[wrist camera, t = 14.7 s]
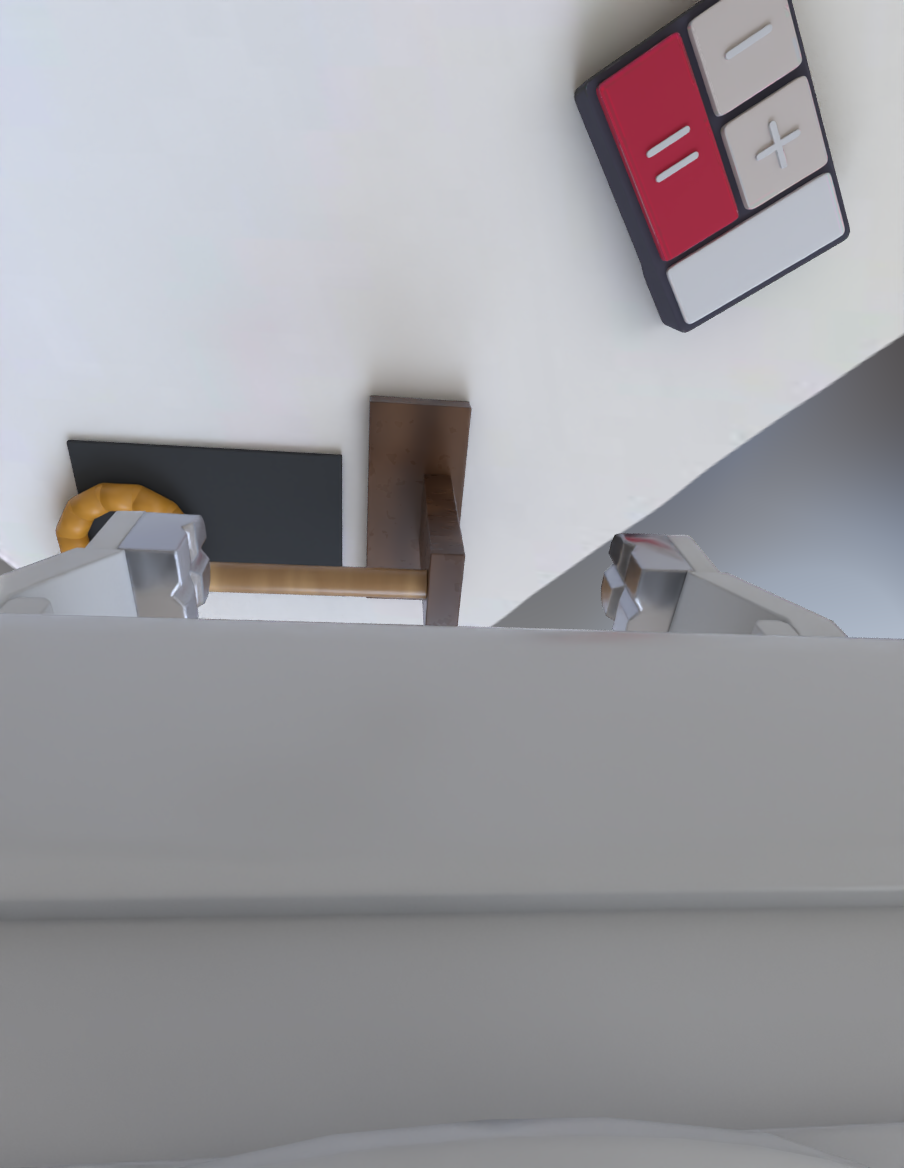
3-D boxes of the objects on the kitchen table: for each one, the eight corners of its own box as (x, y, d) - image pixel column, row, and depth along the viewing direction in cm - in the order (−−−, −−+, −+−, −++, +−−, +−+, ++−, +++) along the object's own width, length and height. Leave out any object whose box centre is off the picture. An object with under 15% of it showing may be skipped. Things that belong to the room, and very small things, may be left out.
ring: (203, 611, 52) (69, 607, 51) (209, 597, 54) (79, 593, 53) (187, 493, 47) (38, 486, 46) (195, 482, 49) (50, 475, 48)
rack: (469, 401, 47) (492, 474, 36) (450, 591, 56) (464, 700, 44) (238, 386, 46) (185, 458, 34) (254, 584, 54) (216, 695, 42)
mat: (101, 584, 53) (99, 587, 53) (68, 439, 47) (66, 441, 46) (342, 592, 55) (341, 595, 55) (341, 454, 49) (341, 456, 48)
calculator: (786, -60, 33) (860, 236, 39) (748, -32, 36) (821, 234, 43) (584, 81, 35) (686, 338, 42) (568, 94, 39) (664, 327, 45)
